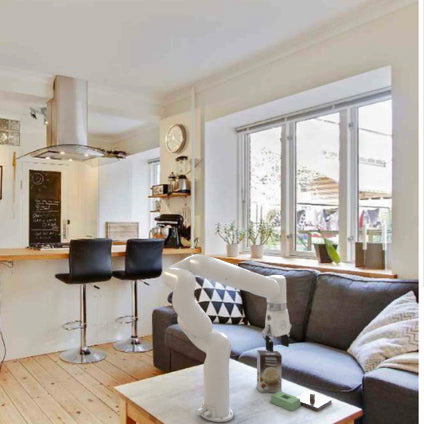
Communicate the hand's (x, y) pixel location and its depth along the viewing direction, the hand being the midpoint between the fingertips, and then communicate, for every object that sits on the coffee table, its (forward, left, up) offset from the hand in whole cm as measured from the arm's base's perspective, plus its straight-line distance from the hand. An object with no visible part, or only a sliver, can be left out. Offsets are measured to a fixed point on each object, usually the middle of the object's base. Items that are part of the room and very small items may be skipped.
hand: (277, 348), depth 170 cm
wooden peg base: (+10, -9, -22) cm, 26 cm away
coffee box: (+8, +9, -22) cm, 25 cm away
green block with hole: (+1, -3, -22) cm, 22 cm away
